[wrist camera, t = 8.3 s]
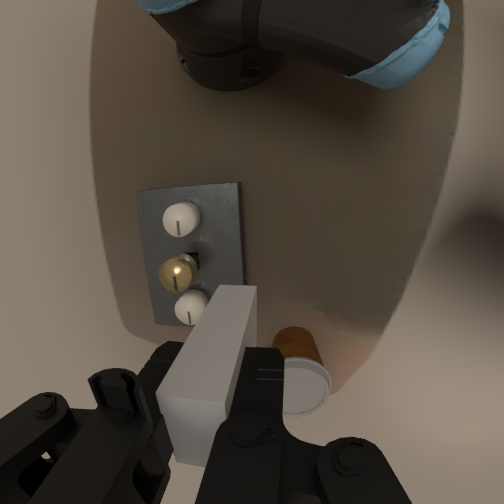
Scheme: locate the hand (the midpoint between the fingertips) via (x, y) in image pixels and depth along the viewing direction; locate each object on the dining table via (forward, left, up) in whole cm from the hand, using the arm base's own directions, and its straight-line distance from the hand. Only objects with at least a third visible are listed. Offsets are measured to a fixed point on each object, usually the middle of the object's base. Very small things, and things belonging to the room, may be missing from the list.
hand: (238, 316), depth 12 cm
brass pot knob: (+9, -8, -26) cm, 28 cm away
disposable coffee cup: (+18, +9, -29) cm, 35 cm away
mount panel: (+9, -9, -29) cm, 31 cm away
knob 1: (+3, -11, -29) cm, 31 cm away
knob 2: (+14, -7, -29) cm, 33 cm away
